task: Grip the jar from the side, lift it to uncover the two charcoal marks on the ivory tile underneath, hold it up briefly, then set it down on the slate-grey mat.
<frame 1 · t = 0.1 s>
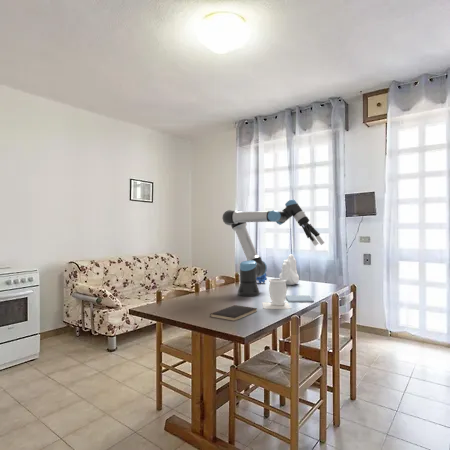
hand: (319, 244, 224), 36 cm above the table, tool tilted 35°, fingers open, 13 cm apart
jar: (278, 304, 205), resting on code tile
hardcover book: (234, 315, 185), on the table
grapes: (260, 283, 285), on the table
code tile: (278, 304, 205), on the table
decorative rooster: (287, 284, 276), on the table
mat: (299, 299, 219), on the table
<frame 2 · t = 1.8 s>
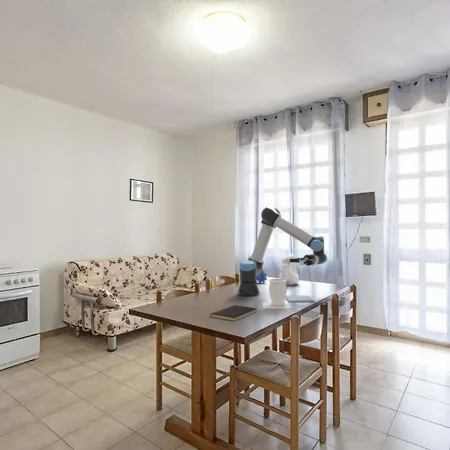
hand: (291, 262, 214), 25 cm above the table, tool horizontal, fingers open, 13 cm apart
nothing on the table moved.
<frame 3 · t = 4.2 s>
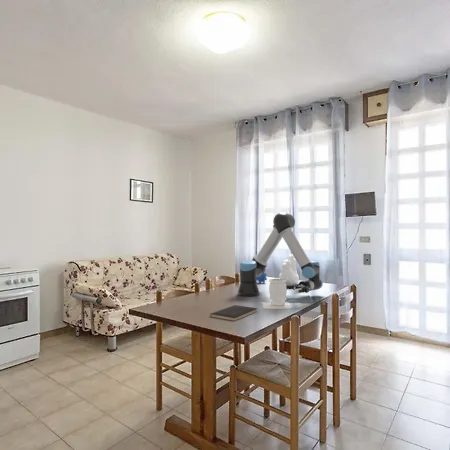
hand: (286, 290, 209), 8 cm above the table, tool horizontal, fingers open, 13 cm apart
nothing on the table moved.
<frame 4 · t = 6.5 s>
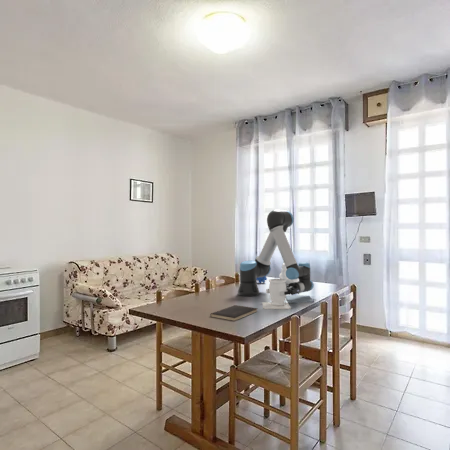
hand: (273, 292, 202), 8 cm above the table, tool horizontal, fingers closed on jar, 10 cm apart
jar: (278, 304, 205), resting on code tile, touching gripper
everything else where it was.
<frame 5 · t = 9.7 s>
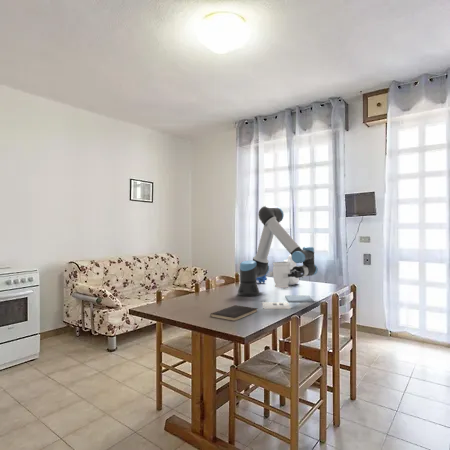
hand: (277, 275, 204), 18 cm above the table, tool horizontal, fingers closed on jar, 10 cm apart
jar: (281, 287, 207), point 10 cm above the table, touching gripper
everything else where it was.
when the fingers open (10 cm above the table, at t = 13.1 s): jar drops 1 cm, resting on mat.
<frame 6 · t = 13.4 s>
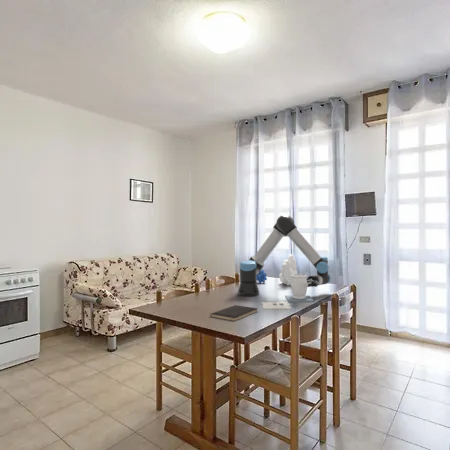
hand: (295, 284, 217), 10 cm above the table, tool horizontal, fingers open, 13 cm apart
jar: (299, 298, 219), point 1 cm above the table, touching mat
everything else where it was.
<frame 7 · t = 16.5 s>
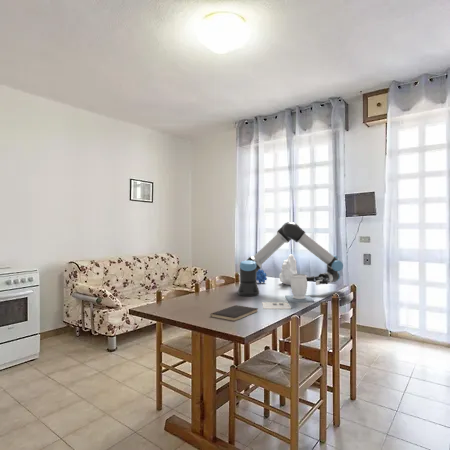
hand: (307, 281, 225), 10 cm above the table, tool horizontal, fingers open, 13 cm apart
nothing on the table moved.
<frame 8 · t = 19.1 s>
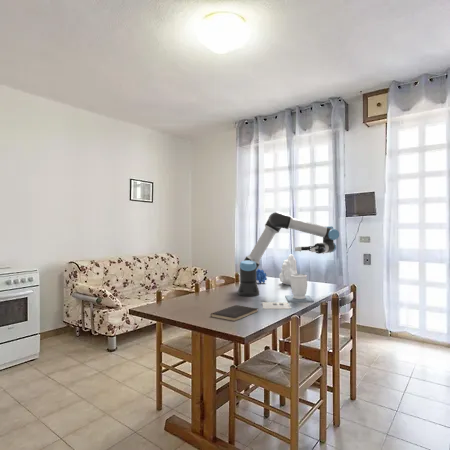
hand: (303, 249, 228), 32 cm above the table, tool horizontal, fingers open, 13 cm apart
nothing on the table moved.
at the end: jar inside the target area on the mat (0.1 cm from its centre), point 0.8 cm above the mat's base; jar tilted 0°; jar touching mat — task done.
